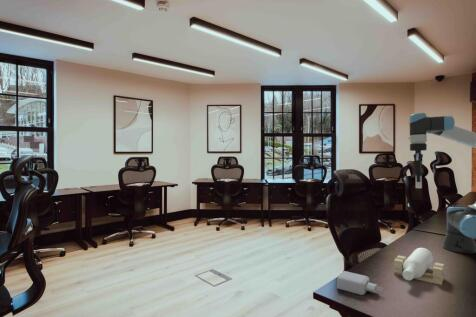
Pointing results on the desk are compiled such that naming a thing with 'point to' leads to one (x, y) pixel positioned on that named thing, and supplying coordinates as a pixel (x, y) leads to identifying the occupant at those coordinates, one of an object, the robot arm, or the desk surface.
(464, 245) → the robot arm
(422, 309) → the desk surface
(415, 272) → the bottle
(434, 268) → the bottle rest
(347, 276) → the white flat bottle
